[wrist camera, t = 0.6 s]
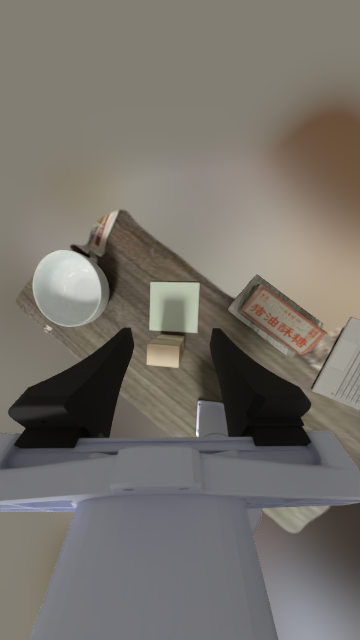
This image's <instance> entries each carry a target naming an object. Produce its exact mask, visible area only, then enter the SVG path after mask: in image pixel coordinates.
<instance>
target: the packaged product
mask: <svg viewBox="0 0 360 640" xmlns="http://www.w3.org/2000/svg"><path fill="white" fill-rule="evenodd" d="M227 310H229V311H230V312H231V313H232V314H233V315H235V316H236V317H237V318H238V319H239V320H241V321H242V322H243V323H245V324H246V325H248V326H249V327H250V328H252V329H253V330H254V331H256V332H257V333H258V334H259V335H260V336H261V337H263V338H264V339H265V340H267V341H269V342H270V343H271V344H272V345H273V346H274V347H276V348H277V349H278V350H280V351H281V352H283V353H284V354H285V355H287V356H288V357H289V358H290V359H291V358H292V357H293V356H294V355H295V354H296V353H299V354H305V353H306V352H308V351H311V349H312V348H313V347H314V346H315V345H316V344H317V343H319V342H320V341H321V340H322V338H323V337H324V336H326V335H327V334H328V333H327V332H325V331H324V330H322V329H321V328H323V323H322V322H320V321H319V320H317V319H316V318H315V317H313V316H312V315H311V314H309V313H308V312H307V311H305V310H304V309H303V308H301V307H300V306H299V305H297V304H296V303H295V302H294V301H292V300H290V299H289V298H288V297H287V296H285V295H284V294H283V293H281V292H280V291H278V290H277V289H276V288H275V287H273V286H272V285H271V284H269V283H268V282H267V281H265V280H264V279H263V278H261V277H260V276H259V275H256V276H255V277H254V278H253V279H252V280H251V281H250V282H249V284H248V285H247V286H246V287H245V289H244V290H243V291H242V292H241V293H240V294H239V295H238V296H237V297H236V299H235V300H234V301H233V302H232V304H231V305H230V306H229V308H228V309H227Z"/></svg>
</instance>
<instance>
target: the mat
mask: <svg viewBox="0 0 360 640" xmlns="http://www.w3.org/2000/svg"><path fill="white" fill-rule="evenodd" d="M199 285H200V283H189V282H151V288H150V330H158V331H174V332H191V333H197V325H198V305H199Z"/></svg>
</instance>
